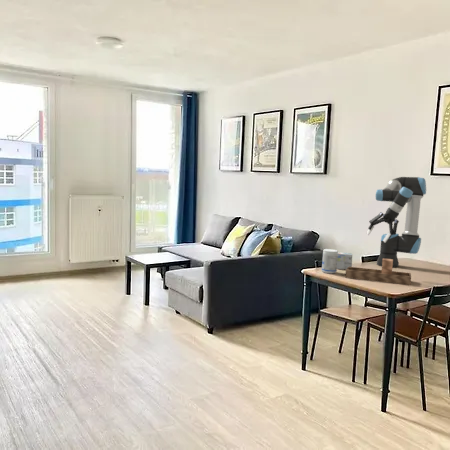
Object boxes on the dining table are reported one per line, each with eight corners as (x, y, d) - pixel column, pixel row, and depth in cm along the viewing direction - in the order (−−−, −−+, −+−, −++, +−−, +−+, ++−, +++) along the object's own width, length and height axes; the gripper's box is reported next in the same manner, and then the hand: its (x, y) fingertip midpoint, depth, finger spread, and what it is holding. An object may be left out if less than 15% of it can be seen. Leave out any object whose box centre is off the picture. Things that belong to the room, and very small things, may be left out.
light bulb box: (350, 268, 330) (351, 252, 329) (351, 270, 323) (352, 254, 322) (334, 267, 331) (335, 252, 330) (335, 269, 324) (336, 253, 323)
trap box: (410, 280, 297) (410, 273, 296) (410, 284, 285) (411, 276, 285) (347, 274, 310) (348, 266, 309) (345, 277, 298) (346, 269, 298)
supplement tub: (319, 270, 317) (321, 248, 316) (333, 270, 318) (335, 249, 317) (324, 273, 308) (325, 251, 306) (338, 274, 309) (340, 251, 307)
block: (391, 275, 297) (393, 259, 296) (391, 276, 292) (392, 260, 291) (381, 274, 299) (382, 258, 298) (381, 275, 294) (382, 259, 293)
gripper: (381, 204, 293) (362, 233, 300) (412, 219, 301) (393, 247, 307) (376, 200, 300) (358, 228, 307) (406, 215, 307) (388, 242, 314)
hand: (375, 237), depth 307 cm, fingers open, 13 cm apart
